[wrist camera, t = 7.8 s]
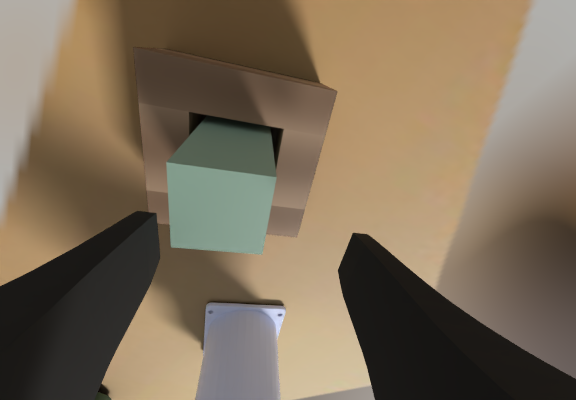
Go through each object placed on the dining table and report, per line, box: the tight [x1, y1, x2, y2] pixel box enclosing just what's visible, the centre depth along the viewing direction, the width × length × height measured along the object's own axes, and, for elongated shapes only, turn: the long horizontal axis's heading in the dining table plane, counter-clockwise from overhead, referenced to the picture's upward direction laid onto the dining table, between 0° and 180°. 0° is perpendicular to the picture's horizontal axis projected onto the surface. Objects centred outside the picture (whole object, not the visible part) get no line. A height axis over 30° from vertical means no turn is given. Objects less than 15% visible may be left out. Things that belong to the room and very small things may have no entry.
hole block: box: [133, 47, 338, 237], centre depth 15 cm, size 9×9×4 cm
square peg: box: [166, 115, 277, 254], centre depth 12 cm, size 4×4×8 cm
